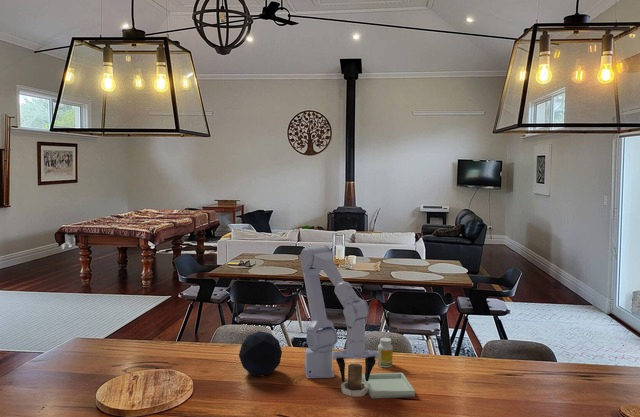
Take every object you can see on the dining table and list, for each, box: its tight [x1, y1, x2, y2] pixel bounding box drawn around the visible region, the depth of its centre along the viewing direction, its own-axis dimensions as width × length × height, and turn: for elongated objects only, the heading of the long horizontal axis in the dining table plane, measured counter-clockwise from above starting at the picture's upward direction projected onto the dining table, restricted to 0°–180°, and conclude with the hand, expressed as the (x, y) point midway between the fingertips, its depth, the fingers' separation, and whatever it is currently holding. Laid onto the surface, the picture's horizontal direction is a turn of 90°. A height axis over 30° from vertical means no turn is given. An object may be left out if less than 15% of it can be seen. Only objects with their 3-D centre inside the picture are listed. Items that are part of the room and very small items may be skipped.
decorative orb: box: [238, 330, 283, 377], centre depth 171 cm, size 14×15×15 cm
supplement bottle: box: [377, 337, 394, 368], centre depth 180 cm, size 5×5×10 cm
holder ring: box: [340, 380, 368, 397], centre depth 159 cm, size 8×8×2 cm
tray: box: [362, 372, 416, 399], centre depth 161 cm, size 14×14×2 cm
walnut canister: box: [347, 363, 363, 390], centre depth 159 cm, size 4×4×8 cm
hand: (354, 380), depth 159 cm, fingers open, 7 cm apart
